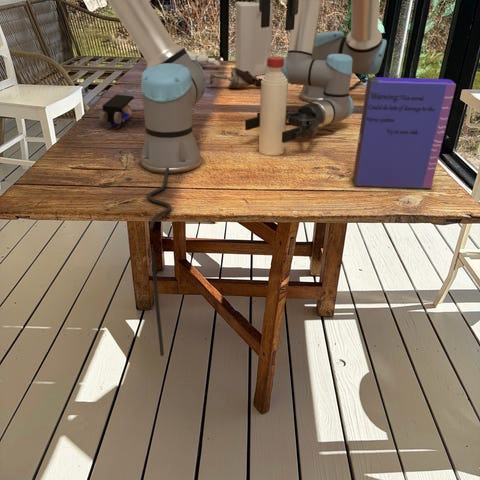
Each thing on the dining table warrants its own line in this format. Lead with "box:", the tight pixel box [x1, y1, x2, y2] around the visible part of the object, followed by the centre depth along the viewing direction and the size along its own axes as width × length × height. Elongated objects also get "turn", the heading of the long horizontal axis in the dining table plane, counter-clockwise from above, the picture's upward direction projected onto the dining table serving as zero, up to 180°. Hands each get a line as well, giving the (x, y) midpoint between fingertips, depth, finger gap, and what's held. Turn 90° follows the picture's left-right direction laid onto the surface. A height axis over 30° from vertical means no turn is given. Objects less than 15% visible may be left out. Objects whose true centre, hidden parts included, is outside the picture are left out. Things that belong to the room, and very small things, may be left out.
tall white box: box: [234, 1, 274, 77], centre depth 210 cm, size 19×15×28 cm
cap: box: [267, 56, 284, 68], centre depth 120 cm, size 4×4×2 cm
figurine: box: [209, 66, 262, 89], centre depth 190 cm, size 24×8×30 cm
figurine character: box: [98, 94, 135, 130], centre depth 148 cm, size 7×8×15 cm
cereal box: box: [352, 76, 457, 190], centre depth 107 cm, size 17×5×24 cm, turn 86°
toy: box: [186, 50, 221, 69], centre depth 223 cm, size 24×25×7 cm
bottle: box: [258, 67, 289, 156], centre depth 126 cm, size 7×7×24 cm
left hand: (277, 28), depth 116 cm, fingers open, 6 cm apart
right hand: (263, 131), depth 127 cm, fingers open, 13 cm apart
